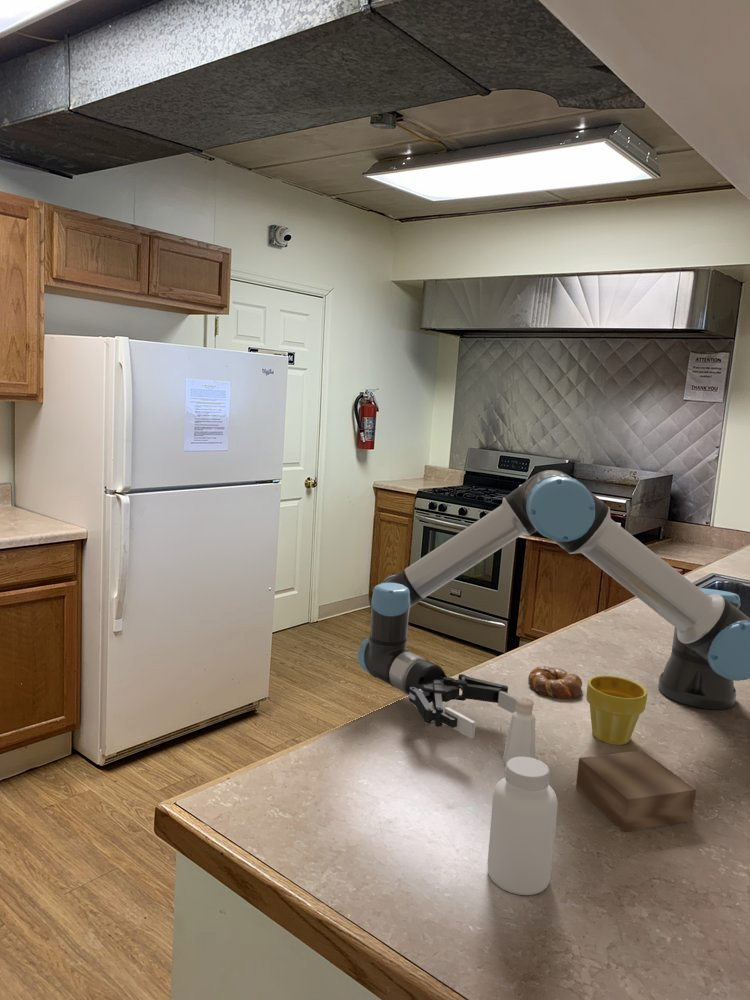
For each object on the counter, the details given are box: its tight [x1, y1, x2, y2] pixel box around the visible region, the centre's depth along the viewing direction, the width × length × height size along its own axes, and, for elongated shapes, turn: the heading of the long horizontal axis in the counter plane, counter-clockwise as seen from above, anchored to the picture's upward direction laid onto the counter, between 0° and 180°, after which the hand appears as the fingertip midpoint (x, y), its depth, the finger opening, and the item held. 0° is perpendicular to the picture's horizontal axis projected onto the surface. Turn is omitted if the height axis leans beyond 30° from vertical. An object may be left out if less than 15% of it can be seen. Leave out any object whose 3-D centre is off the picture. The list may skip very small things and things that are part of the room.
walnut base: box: [575, 750, 697, 833], centre depth 112 cm, size 12×12×5 cm
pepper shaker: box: [502, 697, 537, 765], centre depth 122 cm, size 5×5×11 cm
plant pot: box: [585, 674, 648, 746], centre depth 133 cm, size 10×10×10 cm
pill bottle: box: [487, 757, 559, 896], centre depth 92 cm, size 8×8×15 cm
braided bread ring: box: [528, 665, 583, 699], centre depth 155 cm, size 12×11×4 cm
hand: (501, 720), depth 124 cm, fingers open, 13 cm apart
